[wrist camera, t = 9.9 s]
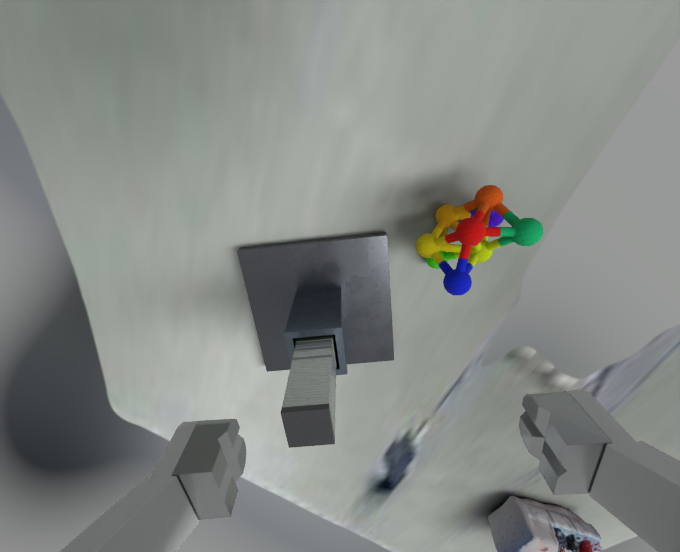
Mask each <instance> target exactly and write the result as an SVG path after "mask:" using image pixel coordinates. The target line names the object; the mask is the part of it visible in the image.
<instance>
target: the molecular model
mask: <svg viewBox="0 0 680 552" xmlns="http://www.w3.org/2000/svg"><path fill="white" fill-rule="evenodd" d="M502 201H503V193H502V191H501V190H500V188H498V187H496V186H493V185H488V186H484V187H482V188H481V189H480V190H479V191H478V192H477V193H476V196H475V200H473V201H471V202H469V203H466V204H464V205H462V206H459V207H457V208H456V207H455V206H453V205H451V204H446V205H442V206H441V207H440V208H439V209H437V211H436V214H435V219H436V222H437V223H438V224H437V225H436V227H435V228H434V230H433V232H432V233H431V234H424V235H422V236H421V237H419V238H418V240H417V242H416V250H417V252H418V254H419V255H421V256H422V257H425V258H426V262H427V263H428V265H429V266H430V267H432V268H441V269H442V271H443V272H444V273H445V277H444V281H443V283H444V287H445V289H446V290H447V292H449V293H450V294H452V295H463V294H465V293H466V292H468V291H469V289H470V287H471V283H472V282H471V278H470V275H469V272H470V271H471V269H472V268H473V266H474V265H475V264H476V263H482V262H485V261H486V260H488V259H489V258H490V257H491V255H492V250H494V249H496V248H499V247H502V246H504V245H507V244H510V243H512V242H515V243H517V244H518V245H522V246H530V245H533V244H535V243H537V242H538V241H539V240H540V239H541V237H542V235H543V227H542V225H541V223H540V222H539V221H537V220H535V219H533V218H523V219H519V218H518V217H517V216H515V215H514V214H513V213H512V212H511V211H510V210H509V209H507V208H506V207H505V206H504V205H503V204H502ZM475 208H478V210H477V211H476V212H468V211H470V210H473V209H475ZM503 219H505V220H506V221H507V222H508V223H509V224H510V225H512V227H495V226H497V225H499V224H501V223H502V221H503ZM458 220H462V221H461V222H460V223H459V222H458ZM448 227H452V228H453V229H454V230H455V231H456V232H454V233H451V234H448V235H446V234H447V230H448ZM489 236H501V238H499V239H496V240H494V241H491V242H488V241H487V240H488V237H489ZM458 240H459V241H460V242H461V243H462V245H456V244H449V243H451V242H455V241H458ZM455 258H459V259H458V263H457V267H456V269H455V270H453V269H452V268H451V267H450V266H449V264H448V263H447V261H448V260H449V259H455ZM468 258H469V259H468Z"/></svg>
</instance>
